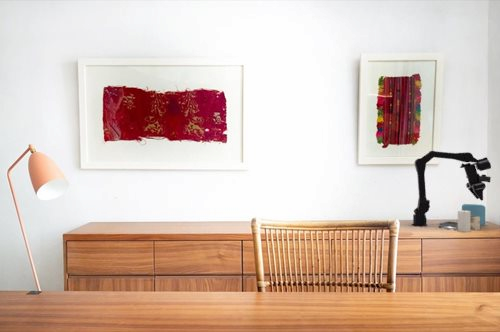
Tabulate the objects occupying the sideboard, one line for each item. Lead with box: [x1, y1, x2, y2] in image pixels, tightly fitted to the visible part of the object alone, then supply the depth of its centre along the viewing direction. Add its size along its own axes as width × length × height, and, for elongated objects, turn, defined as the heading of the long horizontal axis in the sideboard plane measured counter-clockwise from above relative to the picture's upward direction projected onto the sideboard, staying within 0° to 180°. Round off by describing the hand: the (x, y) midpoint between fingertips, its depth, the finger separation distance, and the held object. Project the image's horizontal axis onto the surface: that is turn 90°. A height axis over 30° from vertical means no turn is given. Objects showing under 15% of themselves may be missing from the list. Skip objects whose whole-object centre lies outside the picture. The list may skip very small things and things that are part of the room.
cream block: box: [457, 209, 471, 233], centre depth 231 cm, size 4×5×11 cm
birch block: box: [470, 216, 481, 231], centre depth 238 cm, size 6×6×7 cm
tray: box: [438, 220, 458, 230], centre depth 244 cm, size 11×11×2 cm
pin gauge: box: [437, 224, 458, 231], centre depth 238 cm, size 10×2×2 cm
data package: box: [461, 203, 486, 227], centre depth 253 cm, size 12×4×12 cm, turn 72°
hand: (479, 199), depth 243 cm, fingers open, 9 cm apart
